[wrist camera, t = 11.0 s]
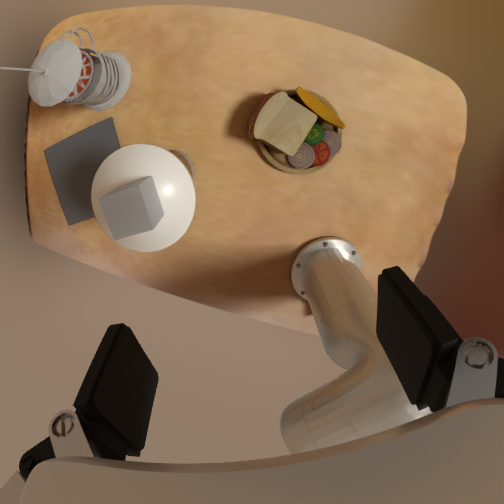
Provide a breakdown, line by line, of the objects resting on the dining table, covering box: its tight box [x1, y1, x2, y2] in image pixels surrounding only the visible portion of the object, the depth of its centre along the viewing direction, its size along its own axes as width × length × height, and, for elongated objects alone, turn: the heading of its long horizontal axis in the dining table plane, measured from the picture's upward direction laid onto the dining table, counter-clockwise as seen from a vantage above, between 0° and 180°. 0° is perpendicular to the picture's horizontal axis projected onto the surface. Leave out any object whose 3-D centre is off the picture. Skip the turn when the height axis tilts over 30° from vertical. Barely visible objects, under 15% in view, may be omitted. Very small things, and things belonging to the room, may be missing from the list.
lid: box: [91, 144, 196, 252], centre depth 25 cm, size 11×11×5 cm
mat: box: [44, 117, 121, 225], centre depth 39 cm, size 14×14×1 cm
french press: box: [0, 27, 132, 111], centre depth 22 cm, size 10×12×25 cm
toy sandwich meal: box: [246, 87, 345, 174], centre depth 37 cm, size 12×14×5 cm
